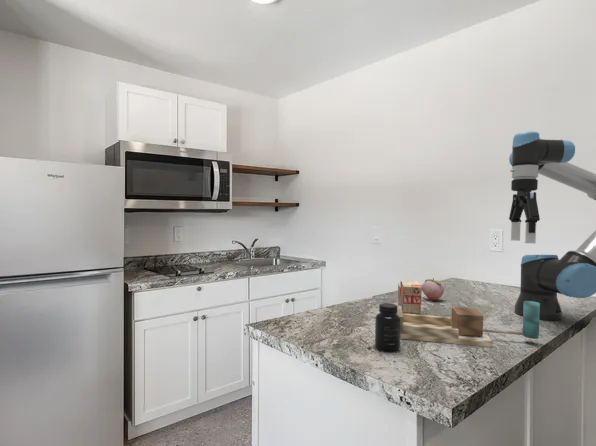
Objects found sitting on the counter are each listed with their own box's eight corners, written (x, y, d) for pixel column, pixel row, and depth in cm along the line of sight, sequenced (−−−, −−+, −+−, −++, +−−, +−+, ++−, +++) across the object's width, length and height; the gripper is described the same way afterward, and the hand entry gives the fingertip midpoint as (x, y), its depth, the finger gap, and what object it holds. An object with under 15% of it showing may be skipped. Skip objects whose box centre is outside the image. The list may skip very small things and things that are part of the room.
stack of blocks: (397, 305, 149) (398, 275, 149) (413, 306, 148) (414, 276, 147) (402, 320, 128) (403, 285, 128) (421, 321, 127) (421, 286, 126)
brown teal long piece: (532, 332, 110) (533, 299, 110) (544, 342, 102) (546, 306, 101) (451, 325, 116) (452, 294, 116) (456, 334, 107) (457, 300, 107)
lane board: (479, 331, 116) (480, 311, 116) (492, 347, 103) (493, 324, 102) (395, 324, 122) (396, 305, 122) (397, 338, 109) (397, 316, 108)
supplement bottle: (371, 343, 104) (372, 301, 103) (394, 343, 104) (395, 301, 104) (379, 352, 97) (380, 308, 97) (403, 352, 97) (405, 308, 97)
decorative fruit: (448, 301, 158) (448, 278, 157) (436, 303, 153) (437, 280, 153) (429, 297, 165) (430, 275, 165) (418, 299, 161) (418, 276, 160)
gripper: (500, 182, 135) (498, 239, 136) (526, 174, 111) (523, 244, 111) (523, 182, 133) (521, 239, 134) (553, 174, 109) (551, 245, 110)
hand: (522, 241), depth 123 cm, fingers open, 13 cm apart
